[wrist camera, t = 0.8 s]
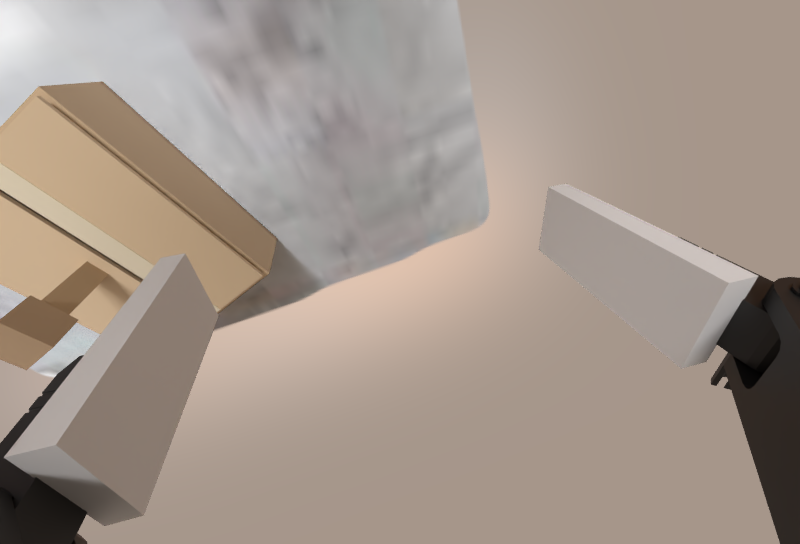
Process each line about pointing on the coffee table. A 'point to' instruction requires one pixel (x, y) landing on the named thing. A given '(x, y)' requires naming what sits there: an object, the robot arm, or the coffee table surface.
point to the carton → (127, 190)
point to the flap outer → (52, 284)
